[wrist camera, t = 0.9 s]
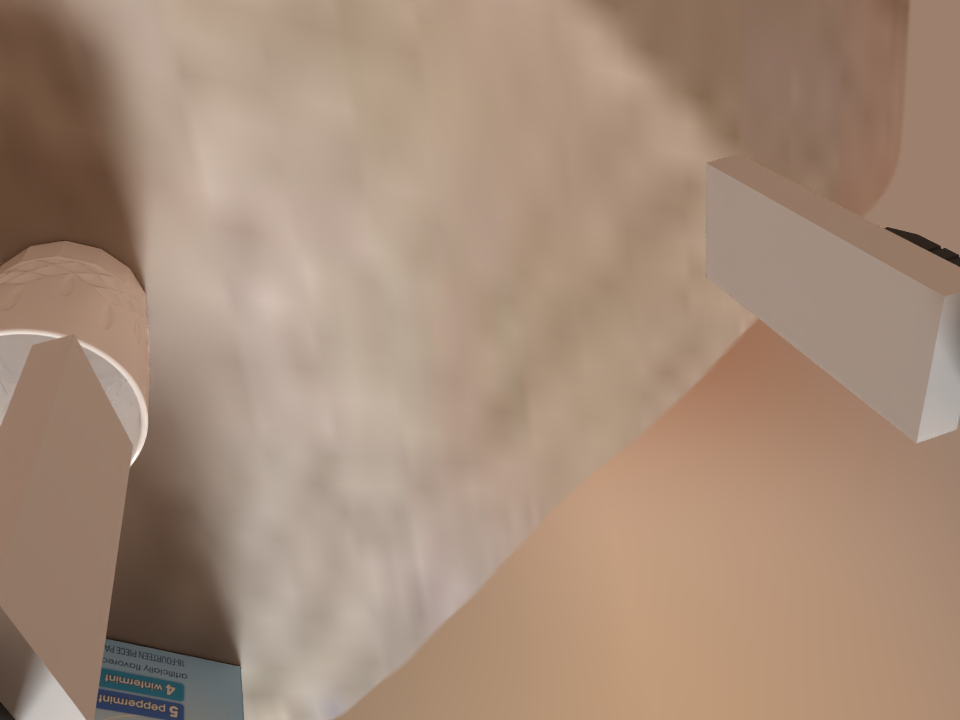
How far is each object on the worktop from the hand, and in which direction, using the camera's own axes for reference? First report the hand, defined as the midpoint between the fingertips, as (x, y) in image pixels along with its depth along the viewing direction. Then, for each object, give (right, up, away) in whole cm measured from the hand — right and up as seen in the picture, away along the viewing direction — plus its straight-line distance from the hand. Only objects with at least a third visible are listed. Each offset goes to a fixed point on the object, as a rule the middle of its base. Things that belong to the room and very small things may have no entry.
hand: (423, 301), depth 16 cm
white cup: (-18, +1, +22) cm, 29 cm away
